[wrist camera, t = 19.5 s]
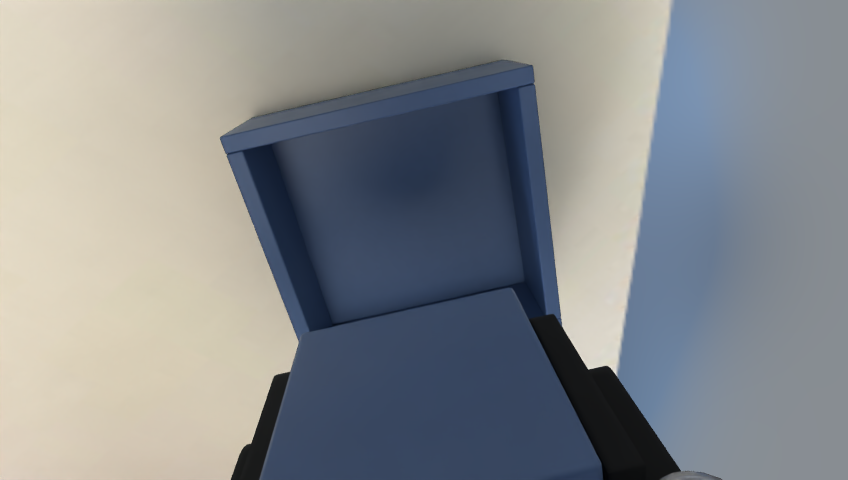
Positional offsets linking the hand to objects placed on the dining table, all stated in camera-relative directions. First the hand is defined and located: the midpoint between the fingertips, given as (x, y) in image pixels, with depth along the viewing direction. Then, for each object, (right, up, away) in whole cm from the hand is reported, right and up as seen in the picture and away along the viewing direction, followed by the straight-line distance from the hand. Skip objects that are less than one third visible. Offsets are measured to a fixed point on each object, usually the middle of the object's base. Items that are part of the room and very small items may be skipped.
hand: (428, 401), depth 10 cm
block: (0, 0, 0) cm, 0 cm away
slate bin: (-1, +5, +11) cm, 12 cm away
